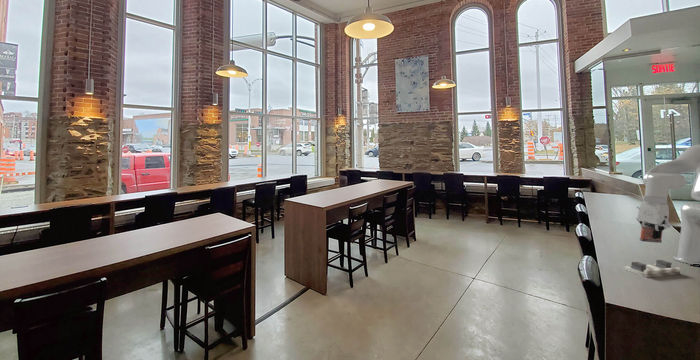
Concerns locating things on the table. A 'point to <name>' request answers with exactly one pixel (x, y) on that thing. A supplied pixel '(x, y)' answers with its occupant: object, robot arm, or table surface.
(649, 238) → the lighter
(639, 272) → the white base plate
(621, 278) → the table surface
